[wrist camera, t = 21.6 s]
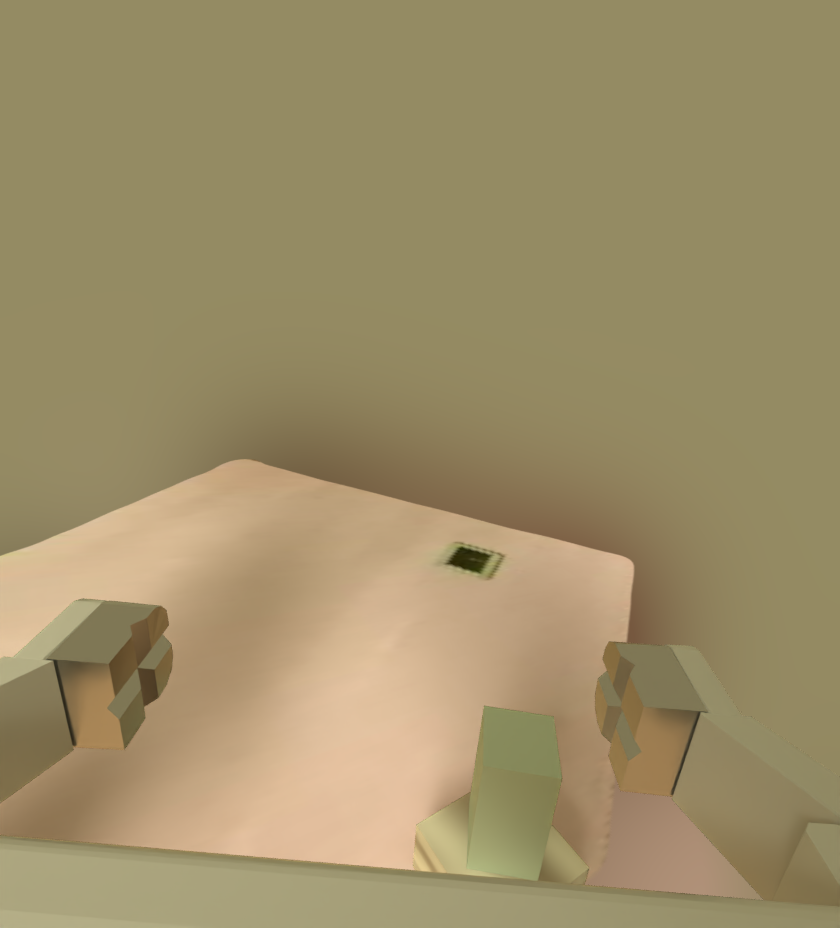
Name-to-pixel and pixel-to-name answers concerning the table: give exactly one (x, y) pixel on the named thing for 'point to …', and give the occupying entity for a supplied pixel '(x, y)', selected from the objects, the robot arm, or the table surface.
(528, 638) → the table surface
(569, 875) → the base block
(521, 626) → the table surface
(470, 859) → the green block
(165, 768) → the table surface
